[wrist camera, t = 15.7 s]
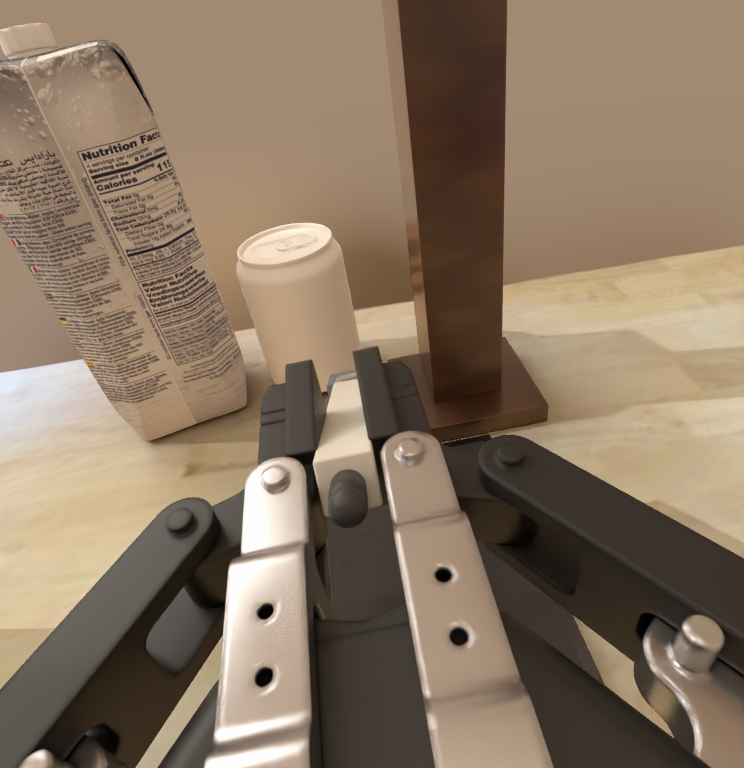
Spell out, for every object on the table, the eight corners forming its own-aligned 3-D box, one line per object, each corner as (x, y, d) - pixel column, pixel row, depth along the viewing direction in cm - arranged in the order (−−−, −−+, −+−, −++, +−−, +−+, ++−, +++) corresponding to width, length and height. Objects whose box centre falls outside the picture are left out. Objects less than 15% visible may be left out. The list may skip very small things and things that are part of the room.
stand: (413, 463, 35) (285, -462, 13) (389, 373, 43) (285, -288, 22) (555, 435, 35) (660, -528, 13) (504, 351, 44) (517, -330, 22)
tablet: (216, 930, 19) (206, 926, 18) (249, 491, 35) (244, 481, 35) (665, 834, 19) (671, 827, 18) (489, 442, 36) (489, 432, 35)
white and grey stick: (301, 559, 8) (286, 491, 8) (334, 398, 25) (330, 374, 25) (408, 537, 9) (394, 469, 8) (370, 390, 25) (365, 367, 25)
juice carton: (263, 410, 42) (112, 5, 25) (133, 456, 40) (-124, 48, 23) (243, 356, 49) (115, 9, 32) (131, 394, 47) (-69, 42, 30)
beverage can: (264, 362, 47) (221, 240, 40) (344, 334, 49) (318, 212, 42) (286, 413, 41) (241, 279, 34) (378, 378, 43) (354, 244, 36)
